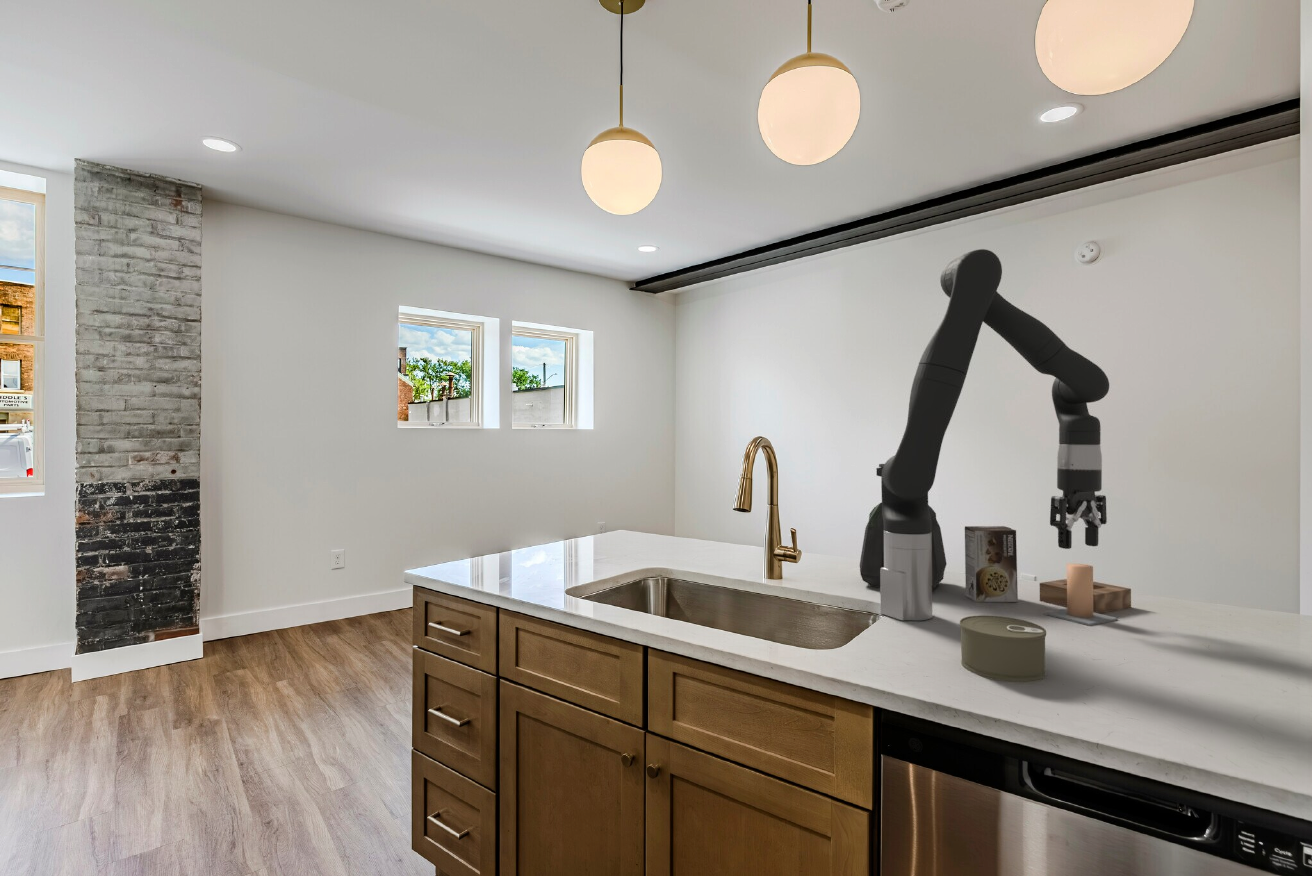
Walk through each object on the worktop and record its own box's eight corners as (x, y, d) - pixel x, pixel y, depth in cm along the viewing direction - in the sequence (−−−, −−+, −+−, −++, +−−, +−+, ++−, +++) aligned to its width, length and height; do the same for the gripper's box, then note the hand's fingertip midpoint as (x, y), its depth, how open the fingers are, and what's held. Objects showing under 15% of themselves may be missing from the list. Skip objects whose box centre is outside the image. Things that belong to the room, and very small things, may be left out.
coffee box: (1005, 595, 147) (1004, 525, 147) (1018, 602, 140) (1018, 529, 140) (964, 595, 147) (963, 525, 148) (975, 602, 141) (974, 529, 141)
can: (963, 651, 109) (963, 611, 109) (1045, 664, 103) (1045, 621, 103) (956, 674, 98) (956, 630, 98) (1047, 689, 92) (1047, 642, 92)
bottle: (857, 586, 156) (856, 464, 156) (875, 574, 170) (874, 462, 170) (936, 596, 146) (934, 466, 147) (948, 582, 160) (947, 463, 160)
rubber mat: (1089, 625, 123) (1089, 623, 123) (1044, 614, 131) (1043, 612, 131) (1117, 620, 126) (1117, 618, 126) (1072, 609, 135) (1072, 607, 135)
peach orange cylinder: (1084, 619, 126) (1083, 568, 126) (1062, 613, 130) (1061, 564, 130) (1098, 616, 127) (1098, 566, 127) (1076, 611, 132) (1075, 562, 131)
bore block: (1095, 614, 131) (1095, 594, 131) (1039, 600, 142) (1039, 582, 142) (1131, 607, 136) (1130, 588, 136) (1074, 595, 147) (1074, 577, 147)
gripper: (1075, 468, 122) (1074, 552, 122) (1120, 467, 128) (1119, 547, 128) (1038, 466, 129) (1037, 546, 129) (1082, 465, 135) (1081, 542, 135)
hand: (1078, 547), depth 129 cm, fingers open, 8 cm apart
